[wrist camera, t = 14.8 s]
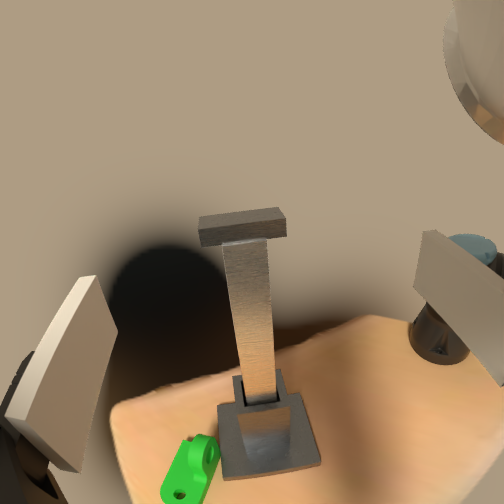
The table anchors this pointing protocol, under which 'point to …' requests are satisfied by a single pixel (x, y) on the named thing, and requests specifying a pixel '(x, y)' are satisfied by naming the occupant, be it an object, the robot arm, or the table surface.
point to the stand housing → (265, 435)
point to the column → (249, 290)
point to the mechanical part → (191, 471)
